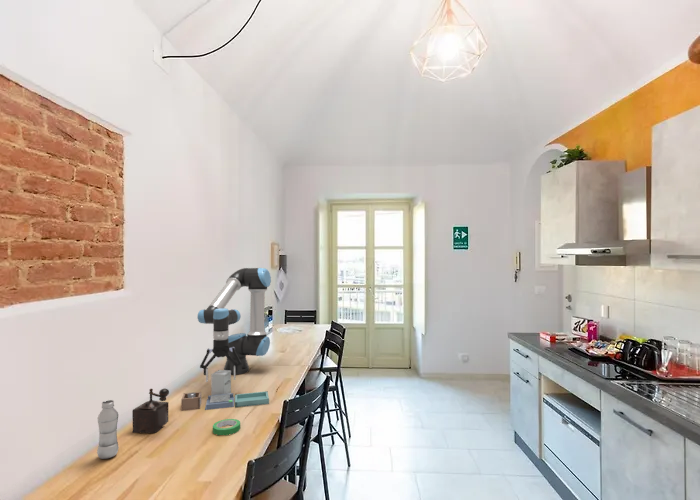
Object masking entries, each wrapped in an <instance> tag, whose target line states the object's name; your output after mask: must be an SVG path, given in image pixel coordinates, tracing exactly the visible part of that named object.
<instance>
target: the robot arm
mask: <svg viewBox="0 0 700 500" xmlns="http://www.w3.org/2000/svg"><path fill="white" fill-rule="evenodd" d="M271 278H272V277H271V273H270V271H269V270H268V269H267V268H265V267H263V268H262V267H248V268H247V267H243V268H240V269H238V270H236V271H234V272H232V273H231V275H229V277H227V279H226V281H225V285H223V287H222V288H221V290H219V292H218V294H217V295H216V296H215V298H213V300H212V302H210V304H209V305H208V306H207V308H206V309H205V308H204V309H201V310H199V311H198V313H197V321H198V322H199V323H200V324H205V325H207V324H209V325H210V324H212V325H213V327H212V328H213V331H212V333H213V335H212V336H213V341H212V343H213V344H212V345H213V346H212V348H206V349H207V350H206V354H205V356H204V358H203V360H202V361H201V364H200V366H199V368H200V369H203V376H205V382H206V383H208V381H209V366H210V364H211V363H212V362H213V361H214V360H215V358H216V357H217V358H225V357H226V360H225V363H224V364H225V365H224V367H223V370H229V371H231V376H233V380H235V381H236V375H242V374H246V373H248V372H249V371H250V366H249V363H248V359H247V356H256V357H260V356H261V357H263V356H265V355H267V353H268V351H269V349H270V344H271V339H270V337H269V336H267V332H266V331H265V303H266V302H265V298H266V296H265V294H266V292H267V291H268V287H270V286H271V282H272V279H271ZM243 287H244V288H245V287H248V288H247V290H248V291H249V292H250V303H249V304H250V307H249V308H250V309H249V311H250V313H249V314H250V315H249V317H250V318H249V332H247V334H246V333H245V332H240V333H239V332H238V333H235V334H229V333H230V332H229V328H230V327H229V326H230V325H234V324H236V323H238V322H239V321H240V320H241V313H240V311H239V310H237V309H228V308H225V307H226V306H227V305H228V303H229V302H230V301H231V299H232V298H233V296H234V295H235V293H236V292H237V291H239V290H240V289H241V288H243ZM211 353H213V355H212V356H211V357H210V359H209V360H208V361H207V359H208V357H209V355H210V354H211ZM206 361H207V362H206ZM205 362H206V363H205Z"/></svg>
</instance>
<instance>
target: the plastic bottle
mask: <svg viewBox="0 0 700 500" xmlns="http://www.w3.org/2000/svg"><path fill="white" fill-rule="evenodd" d="M114 403H115V401H114V400H113V399H110V400H109V399H108V400H105V401H102V402H101V411H100V412H99V414H98V417H97V426H98V432H99V437H98V445H97V450H96V451H97V452H96V453H97V457H98V458H99V459H101V460H102V459H103V460H107V459H111V458H113V457H115V456H116V455H117V454H118V452H119V442H118V436H117V431H118V421H119V412H118V411H117V409H115V404H114Z"/></svg>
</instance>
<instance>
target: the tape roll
mask: <svg viewBox="0 0 700 500" xmlns="http://www.w3.org/2000/svg"><path fill="white" fill-rule="evenodd" d="M226 425H233V426H229V427H227V426H226ZM222 426H223V427H222ZM220 427H221V428H220ZM240 429H241V421H240V420H239V419H236V418H227V419H226V418H225V419H220V420H219V421H216V422H215V423H213V425H212V434H214V435H215V434H217V435H216V436H219V435H225V436H230V435H229V434H231V435H234V434H236V433H237V432H239V431H241V430H240ZM233 433H234V434H233Z"/></svg>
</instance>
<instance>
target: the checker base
mask: <svg viewBox="0 0 700 500" xmlns="http://www.w3.org/2000/svg"><path fill="white" fill-rule="evenodd" d="M220 395H226V394H220ZM211 396H216V395H207V399H206V402H205V407H204V411H208V410H218V409H227V408H235V396H234V393H233V392H231V393H230V400H229V402H220V403H211V404H210V399H211Z"/></svg>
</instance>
